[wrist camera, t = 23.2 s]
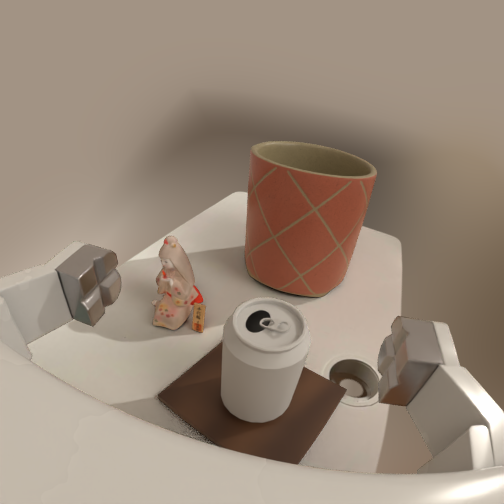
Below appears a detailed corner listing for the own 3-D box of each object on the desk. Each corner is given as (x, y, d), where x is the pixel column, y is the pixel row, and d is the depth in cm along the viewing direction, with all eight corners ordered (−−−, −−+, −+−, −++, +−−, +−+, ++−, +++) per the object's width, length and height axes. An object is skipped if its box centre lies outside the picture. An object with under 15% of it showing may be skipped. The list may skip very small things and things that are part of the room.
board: (344, 393, 33) (347, 389, 32) (280, 486, 23) (282, 484, 22) (236, 333, 40) (237, 328, 40) (158, 399, 30) (157, 394, 30)
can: (240, 360, 35) (249, 280, 29) (299, 385, 33) (326, 308, 26) (207, 406, 29) (205, 330, 23) (272, 437, 27) (297, 370, 21)
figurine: (136, 318, 40) (131, 236, 36) (166, 298, 46) (165, 222, 41) (190, 344, 37) (191, 256, 33) (217, 318, 43) (223, 238, 38)
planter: (262, 231, 65) (274, 136, 54) (352, 256, 60) (377, 159, 49) (221, 280, 50) (228, 156, 39) (337, 317, 44) (376, 189, 34)
